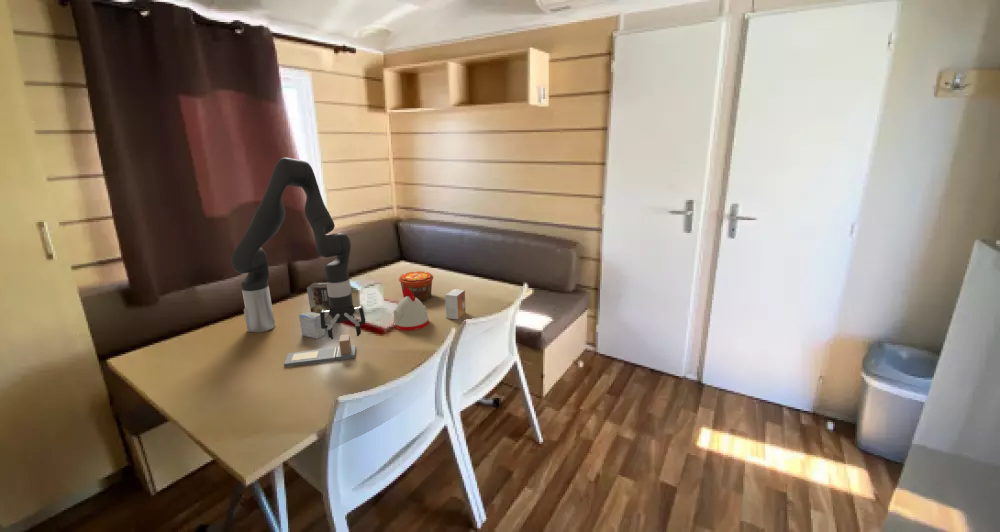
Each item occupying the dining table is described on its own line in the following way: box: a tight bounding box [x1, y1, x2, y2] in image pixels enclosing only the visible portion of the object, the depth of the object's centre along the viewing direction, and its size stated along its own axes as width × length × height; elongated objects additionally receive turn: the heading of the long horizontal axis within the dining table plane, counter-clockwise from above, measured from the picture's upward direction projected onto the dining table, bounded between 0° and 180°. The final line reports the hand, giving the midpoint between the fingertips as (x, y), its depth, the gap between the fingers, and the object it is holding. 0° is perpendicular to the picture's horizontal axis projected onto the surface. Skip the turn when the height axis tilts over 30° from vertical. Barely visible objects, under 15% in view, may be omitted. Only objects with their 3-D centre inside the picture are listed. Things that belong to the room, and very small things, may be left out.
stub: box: [335, 334, 357, 361], centre depth 153 cm, size 6×8×6 cm
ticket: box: [283, 346, 338, 368], centre depth 151 cm, size 16×8×1 cm, turn 105°
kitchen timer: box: [393, 288, 429, 331], centre depth 177 cm, size 14×14×15 cm
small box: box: [444, 288, 466, 320], centre depth 185 cm, size 8×6×10 cm
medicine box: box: [298, 311, 326, 340], centre depth 168 cm, size 8×4×9 cm, turn 65°
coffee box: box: [306, 282, 332, 324], centre depth 180 cm, size 9×6×16 cm
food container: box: [398, 270, 434, 302], centre depth 207 cm, size 16×16×11 cm
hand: (345, 336), depth 152 cm, fingers open, 8 cm apart
